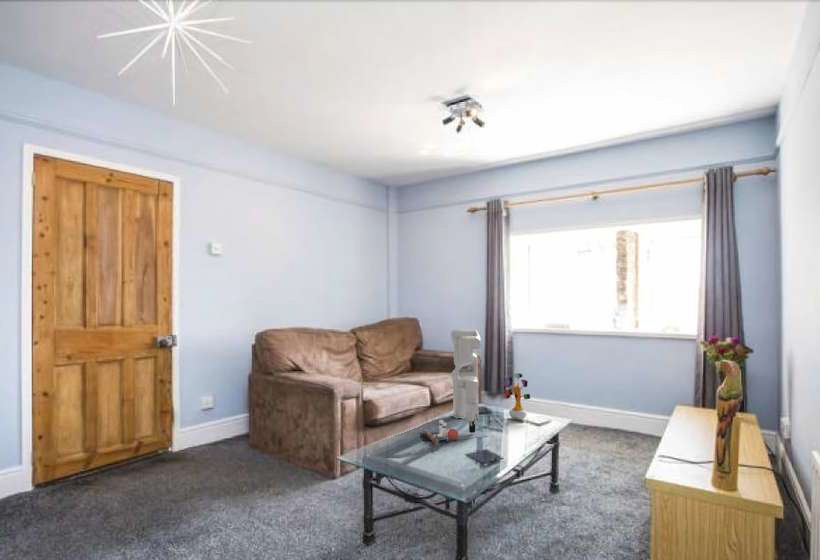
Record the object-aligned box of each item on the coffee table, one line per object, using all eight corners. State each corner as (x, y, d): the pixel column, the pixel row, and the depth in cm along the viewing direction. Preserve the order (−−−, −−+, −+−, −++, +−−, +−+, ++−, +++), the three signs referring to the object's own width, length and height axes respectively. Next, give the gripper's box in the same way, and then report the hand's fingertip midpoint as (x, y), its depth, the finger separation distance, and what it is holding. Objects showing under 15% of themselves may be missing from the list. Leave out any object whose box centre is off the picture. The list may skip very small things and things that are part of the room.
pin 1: (438, 436, 253) (438, 420, 253) (442, 435, 254) (442, 420, 254) (440, 437, 250) (440, 421, 251) (444, 437, 251) (444, 421, 251)
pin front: (446, 436, 252) (432, 438, 249) (446, 432, 252) (432, 433, 249) (448, 438, 249) (433, 439, 246) (448, 433, 249) (433, 435, 246)
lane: (431, 435, 253) (431, 435, 253) (479, 430, 262) (479, 430, 262) (438, 441, 243) (438, 441, 243) (487, 436, 252) (487, 436, 252)
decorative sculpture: (500, 417, 291) (500, 371, 293) (508, 415, 296) (508, 370, 297) (525, 424, 275) (524, 376, 277) (533, 421, 280) (532, 374, 281)
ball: (443, 433, 246) (451, 425, 247) (447, 436, 250) (454, 428, 251) (451, 440, 242) (458, 432, 243) (454, 443, 247) (461, 435, 248)
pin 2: (441, 438, 248) (441, 422, 248) (445, 438, 249) (445, 422, 249) (443, 440, 246) (443, 423, 246) (447, 439, 246) (447, 423, 247)
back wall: (424, 434, 257) (424, 429, 257) (426, 433, 257) (426, 429, 257) (435, 445, 238) (435, 440, 238) (438, 444, 238) (438, 440, 238)
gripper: (460, 398, 262) (461, 429, 261) (471, 403, 247) (471, 436, 247) (472, 397, 264) (472, 428, 263) (483, 402, 250) (483, 435, 249)
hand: (472, 432), depth 255 cm, fingers closed
